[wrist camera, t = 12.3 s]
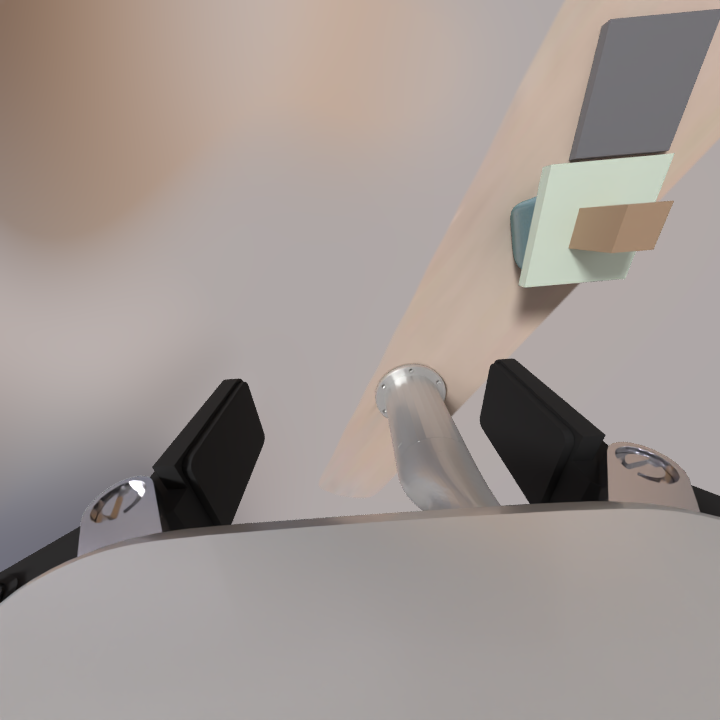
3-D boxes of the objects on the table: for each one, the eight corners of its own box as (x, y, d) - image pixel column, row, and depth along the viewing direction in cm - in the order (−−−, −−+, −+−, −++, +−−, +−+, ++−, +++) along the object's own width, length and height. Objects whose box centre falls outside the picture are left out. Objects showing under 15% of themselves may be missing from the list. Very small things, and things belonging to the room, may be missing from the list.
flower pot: (565, 175, 32) (634, 160, 24) (564, 247, 36) (623, 254, 28) (494, 203, 33) (538, 197, 25) (500, 270, 37) (540, 282, 29)
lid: (615, 276, 29) (675, 289, 24) (518, 285, 29) (556, 299, 24) (660, 156, 24) (750, 136, 19) (542, 167, 24) (598, 150, 19)
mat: (659, 152, 31) (668, 150, 30) (568, 160, 31) (575, 158, 30) (711, 15, 26) (723, 8, 25) (602, 26, 26) (610, 19, 25)
